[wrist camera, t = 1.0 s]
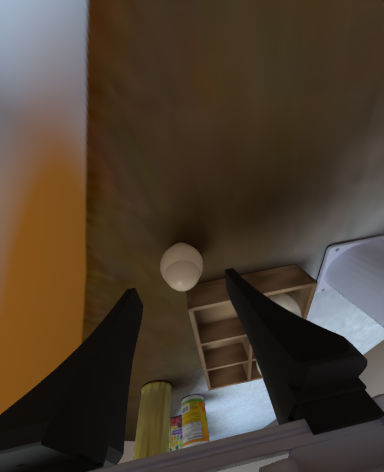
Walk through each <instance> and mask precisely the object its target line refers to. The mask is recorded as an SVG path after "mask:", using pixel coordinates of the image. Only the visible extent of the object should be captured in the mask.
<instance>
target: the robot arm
mask: <svg viewBox="0 0 384 472" xmlns="http://www.w3.org/2000/svg"><path fill="white" fill-rule="evenodd" d="M225 281H226V290H227V293H228V295H229V298H230V301H231V303H232V305H233V307H234V309H235V311H236V313H237V315H238V317H239V319H240V322H241V324H242V326H243V328H244V330H245V332H246V334H247V337H248V340H249V342H250V345H251V347H252V350H253V353H254V355H255V358H256V361H257V363H258V366H259V369H260V372H261V374H262V377H263V380H264V383H265V385H266V388H267V391H268V394H269V397H270V400H271V403H272V406H273V409H274V412H275V415H276V418H277V421H278V423H279V425H277V426H273V427H269V428H265V429H261V430H256V431H252V432H248V433H244V434H240V435H236V436H232V437H228V438H223V439H219V440H215V441H211V442H207V443H203V444H199V445H195V446H191V447H186V448H182V449H178V450H174V451H170V452H166V453H162V454H158V455H153V456H149V457H145V458H141V459H137V460H133V461H129V462H125V463H121V464H117V463H118V462H119V461H120V459H121V458H122V455H123V452H124V437H125V424H126V413H127V402H128V393H129V385H130V376H131V369H132V362H133V356H134V351H135V347H136V342H137V338H138V334H139V329H140V325H141V320H142V312H143V304H142V302H141V300H140V298H139V295H138V293H137V291H136V289H135V288H132V289H127V291H126V292H125V293H124V294H123V296H122V297H121V298H120V300H119V301H118V302H117V303H116V305H115V306H114V307H113V309H112V310H111V311H110V312H109V314H108V315H107V316H106V317H105V318H104V320H103V321H102V322H101V323H100V324H99V326H98V327H97V328H96V329H95V330H94V331H93V332H92V334H91V335H90V336H89V337H88V338H87V339H86V340H85V341H84V342H83V343H82V344H81V345H80V346H79V347H78V348H77V349H76V350H75V351H74V352H73V353H72V354H71V355H70V356H69V357H68V358H67V359H66V360H65V361H64V362H63V363H62V364H61V365H59V366H58V367H57V368H56V369H55V370H54V371H53V372H52V373H51V374H49V375H48V376H47V377H46V378H45V379H44V380H42V381H41V382H40V383H39V384H38V385H37V386H36V387H34V388H33V389H32V390H31V391H29V392H28V393H27V394H26V395H24V396H23V397H22V398H21V399H19V400H18V401H17V402H16V403H14V404H13V405H12V406H11V407H9V408H8V409H7V410H6V411H4V412H3V413H2V414H1V415H0V472H216V471H220V470H224V469H228V468H232V467H236V466H240V465H244V464H248V463H252V462H256V461H260V460H264V459H268V458H272V457H276V456H280V455H284V454H288V453H289V456H288V458H286V459H282V460H279V461H277V462H274V463H271V464H268V465H266V466H263V467H260V469H259V472H384V394H380V395H377V396H375V397H373V398H371V397H370V396H369V394H368V393H367V392H366V391H365V390H364V389H366V386H365V384H364V383H363V382H362V381H361V380H360V379H359V378H358V377H359V375H360V374H361V373H362V372H363V371H364V369H365V368H366V366H367V359H366V358H365V357H364V356H363V355H362V354H361V353H360V352H359V351H358V350H357V349H356V348H355V347H354V346H353V345H352V344H351V343H350V342H349V341H348V340H347V339H346V338H345V337H343V336H341V335H338V334H336V333H334V332H332V331H329V330H327V329H325V328H322V327H320V326H318V325H316V324H314V323H312V322H310V321H308V320H306V319H304V318H302V317H300V316H298V315H296V314H294V313H293V312H291V311H289V310H287V309H285V308H284V307H282V306H280V305H279V304H277V303H276V302H274V301H272V300H271V299H269V298H268V297H267V296H265V295H264V294H262V293H261V292H260V291H258V290H257V289H256V288H255V287H253V286H252V285H251V284H250V283H248V282H247V281H246V280H245V279H244V278H243V277H241V276H240V275H239V274H238V273H237V272H236V271H235V270H234V269H233V268H231V269H226V270H225ZM317 282H318V284H317V287H316V290H315V292H317V293H321V292H326V291H331V290H336V291H337V292H338V293H340V294H341V295H342V296H343V297H345V298H346V299H347V300H349V301H350V302H351V303H353V304H354V305H355V306H356V307H358V308H359V309H360V310H362V311H363V312H364V313H366V314H367V315H368V316H369V317H371V318H372V319H373V320H375V321H376V322H377V323H379V324H380V325H381V326H382V327H384V235H383V236H378V237H373V238H368V239H363V240H357V241H352V242H347V243H342V244H337V245H332V246H330V247H328V249H327V251H326V254H325V258H324V261H323V264H322V267H321V270H320V274H319V277H318V280H317Z"/></svg>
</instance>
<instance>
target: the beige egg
mask: <svg viewBox="0 0 384 472" xmlns="http://www.w3.org/2000/svg"><path fill="white" fill-rule="evenodd" d="M160 270H161V274H162V276H163V278H164V279H165V280H166V282H167V283H168V284H169V286H170V287H172V288H173V289H175V290H177V291H187V290H189V289H191V288H193V287H194V286H195V285H196V283H197V282H198V280H199V278H200V276H201V274H202V271H203V260H202V257H201V255H200V253H199V252H198V251H197V250H196V249H195V248H194V247H192V246H190V245H188V244H186V243H182V242H181V243H176V244H174V245H173V246H172V247H170V248H169V249H168V250H166V252H165V253H164V254H163V256H162V258H161V262H160Z"/></svg>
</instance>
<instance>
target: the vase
mask: <svg viewBox="0 0 384 472" xmlns="http://www.w3.org/2000/svg"><path fill="white" fill-rule="evenodd" d="M171 390H172V386H171V384H170V383H168V382H165V381H154V382H150V383H147V384H146V385H144V386H143V387H142V389H141V393H142V395H141V402H140V409H139V416H138V423H137V431H136V440H135V447H134V456H133V460H137V459H141V458H145V457H149V456H153V455H158V454H162V453H166V452H169V426H170V399H171Z"/></svg>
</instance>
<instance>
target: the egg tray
mask: <svg viewBox="0 0 384 472" xmlns="http://www.w3.org/2000/svg"><path fill="white" fill-rule="evenodd" d="M240 276H241V277H243V278H244V279H245V280H246V281H247V282H248V283H250V284H251V285H252V286H253V287H255V288H256V289H257V290H258V291H260V292H261V293H262V294H264V295H265V296H269V295H274V294H278V293H285V294H287V295H289V296H290V297H292V298H293V299H294V300H295V301H296V303H297V304H298V306H299V308H300V311H301V316H302V318H304V319H306V318H307V315H308V312H309V309H310V306H311V303H312V300H313V296H314V293H315V290H316V287H317V284H318V282H317V281H316V280H315V279H313V278H312V277H311V276H310V275H308V274H307V273H306V272H305V271H303V270H302V269H301V268H300V267H298V266H297V265H296V264H294V265H289V266H284V267H279V268H274V269H269V270H264V271H259V272H254V273H249V274H244V275H240ZM186 294H187V305H188V311H189V315H190V319H191V323H192V327H193V331H194V335H195V339H196V343H197V347H198V351H199V355H200V358H201V362H202V366H203V370H204V374H205V378H206V382H207V386H208V390H213V389H218V388H222V387H227V386H231V385H236V384H240V383H244V382H249V381H253V380H258V379H262V378H263V377H262V376H261V374H260V373H259V371H258V368H257V365H256V358H255V355H254V353H253V350H252V347H251V345H250V342H249V340H248V337H247V334H246V332H245V330H244V328H243V326H242V324H241V322H240V319H239V317H238V315H237V313H236V311H235V309H234V307H233V305H232V303H231V301H230V298H229V295H228V293H227V290H226V281H225V278H224V279H219V280H214V281H209V282H204V283H199V284H196V285H195V286H194V287H193V288H191V289H189V290H187V291H186Z"/></svg>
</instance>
